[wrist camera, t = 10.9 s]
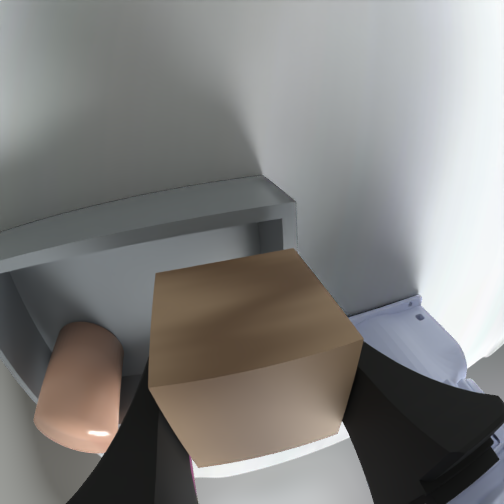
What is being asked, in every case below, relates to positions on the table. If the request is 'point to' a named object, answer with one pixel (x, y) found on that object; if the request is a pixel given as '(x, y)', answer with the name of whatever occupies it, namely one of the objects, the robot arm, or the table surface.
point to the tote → (125, 266)
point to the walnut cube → (249, 357)
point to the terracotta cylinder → (82, 389)
